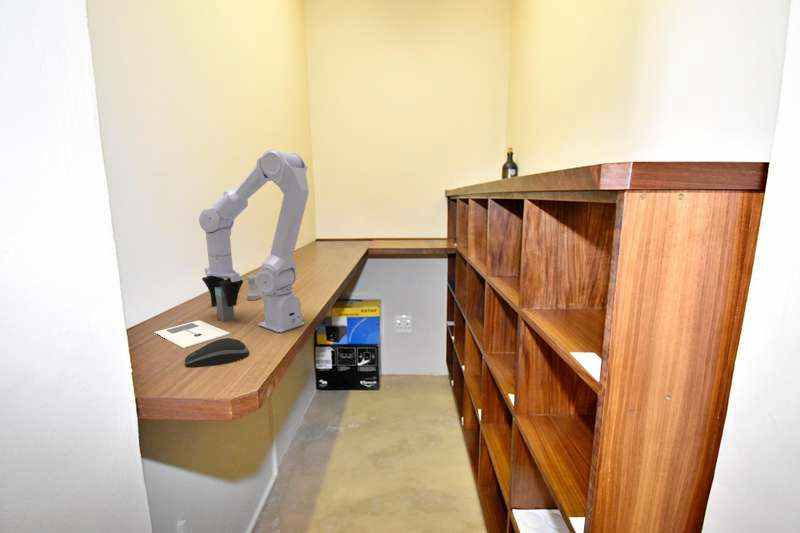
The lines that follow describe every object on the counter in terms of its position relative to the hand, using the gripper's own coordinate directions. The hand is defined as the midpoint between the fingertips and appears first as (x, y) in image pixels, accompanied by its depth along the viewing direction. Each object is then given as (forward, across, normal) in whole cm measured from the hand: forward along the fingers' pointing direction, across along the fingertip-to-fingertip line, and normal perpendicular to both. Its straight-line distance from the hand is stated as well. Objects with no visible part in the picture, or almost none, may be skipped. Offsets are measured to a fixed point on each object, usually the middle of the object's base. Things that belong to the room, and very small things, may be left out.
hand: (224, 303), depth 104 cm
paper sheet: (+4, +4, -11) cm, 13 cm away
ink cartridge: (+5, -14, +6) cm, 16 cm away
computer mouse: (+5, +23, -14) cm, 28 cm away
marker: (+4, 0, 0) cm, 4 cm away
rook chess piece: (+5, -12, +16) cm, 20 cm away
